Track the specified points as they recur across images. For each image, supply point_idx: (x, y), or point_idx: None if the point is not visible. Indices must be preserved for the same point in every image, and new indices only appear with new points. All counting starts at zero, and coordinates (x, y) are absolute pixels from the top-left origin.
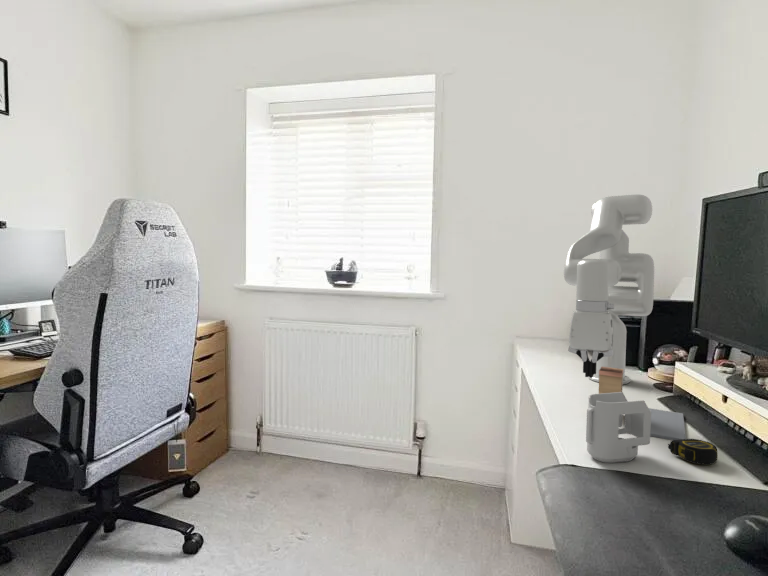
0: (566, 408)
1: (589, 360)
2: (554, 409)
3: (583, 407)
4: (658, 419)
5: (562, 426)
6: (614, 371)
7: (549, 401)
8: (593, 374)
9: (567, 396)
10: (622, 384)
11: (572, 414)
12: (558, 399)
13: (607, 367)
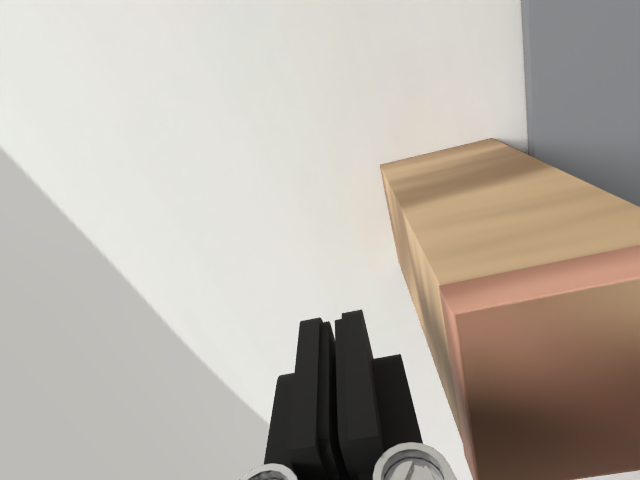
0: (233, 255)
1: (320, 456)
2: (203, 308)
3: (286, 173)
4: None
5: None
6: (634, 434)
7: (105, 210)
8: (362, 314)
9: (98, 13)
10: (603, 193)
11: (297, 314)
12: (109, 133)
13: (533, 312)
